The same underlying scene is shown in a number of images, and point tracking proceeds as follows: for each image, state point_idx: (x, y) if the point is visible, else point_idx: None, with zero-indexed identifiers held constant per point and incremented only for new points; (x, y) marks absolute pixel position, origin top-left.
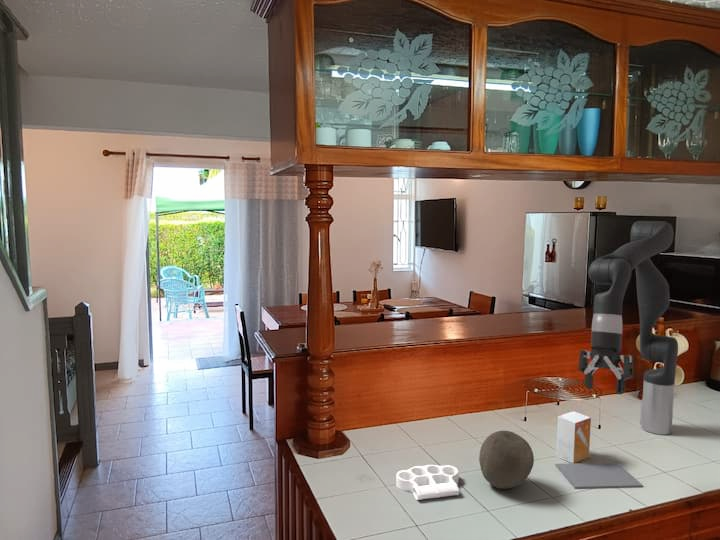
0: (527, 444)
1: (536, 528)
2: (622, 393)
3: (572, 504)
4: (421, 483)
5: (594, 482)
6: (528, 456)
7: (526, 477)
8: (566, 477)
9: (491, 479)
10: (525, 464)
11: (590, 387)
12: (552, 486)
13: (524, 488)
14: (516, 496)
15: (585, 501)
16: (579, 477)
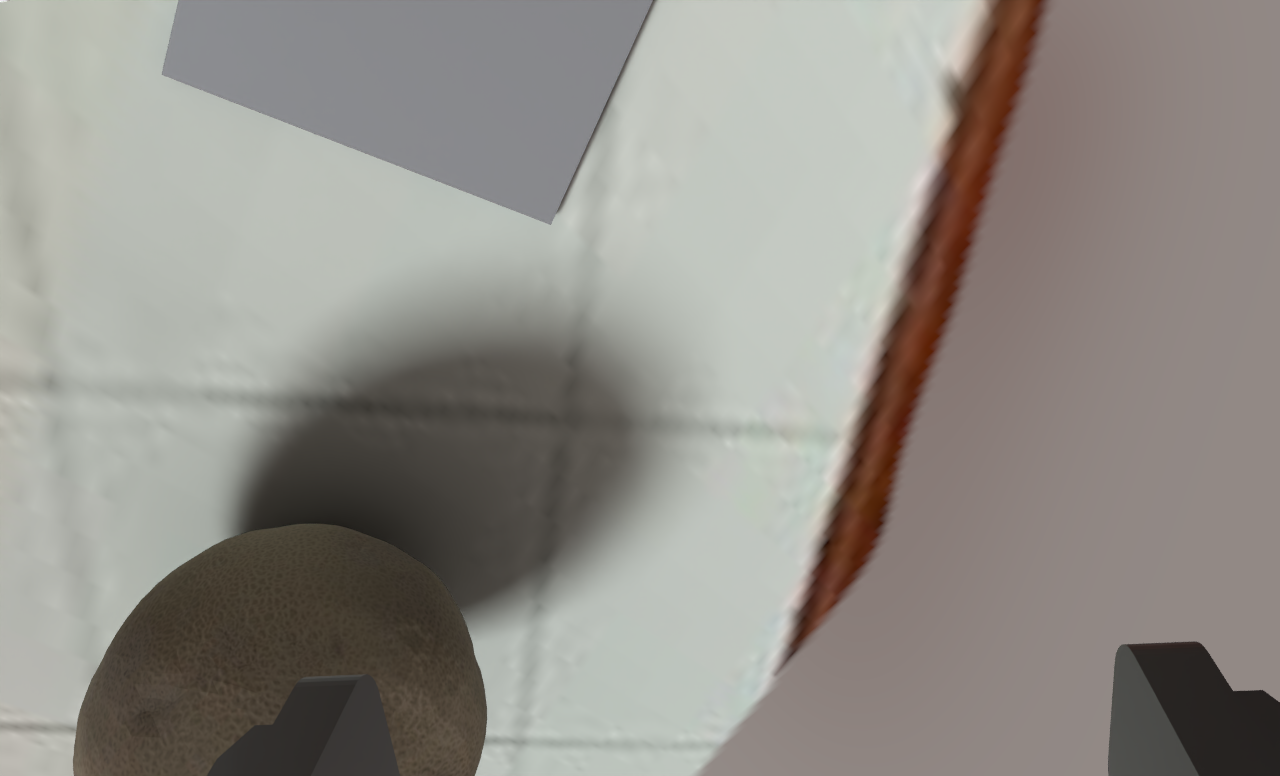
0: None
1: (750, 656)
2: (1190, 646)
3: (691, 375)
4: None
5: (571, 28)
6: (462, 739)
7: (452, 598)
8: (404, 166)
9: None
10: (484, 729)
11: (379, 761)
12: (458, 331)
13: (406, 493)
14: (466, 577)
15: (710, 279)
16: (451, 75)
